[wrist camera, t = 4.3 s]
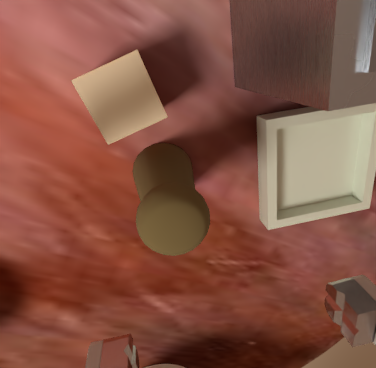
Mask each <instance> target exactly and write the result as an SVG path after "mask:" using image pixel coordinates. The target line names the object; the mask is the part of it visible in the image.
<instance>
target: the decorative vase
mask: <svg viewBox="0 0 376 368" xmlns="http://www.w3.org/2000/svg"><path fill="white" fill-rule="evenodd" d="M144 368H185V367H183V366H180V365H175V364H156V365H151V366H147V367H144Z"/></svg>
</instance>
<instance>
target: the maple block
mask: <svg viewBox="0 0 376 368" xmlns="http://www.w3.org/2000/svg"><path fill="white" fill-rule="evenodd" d="M71 81H72V83H73V85H74V87H75V88H76V90H77V92H78V93H79V95H80V97H81V99H82V100H83V102H84V104H85V106H86V107H87V109H88V111H89V112H90V114H91V116H92V118H93V119H94V121H95V123H96V125H97V126H98V128H99V130H100V131H101V133H102V135H103V137H104V138H105V140H106V142H107V144H108V145H109V144H111V143H113V142H115V141H117V140H120V139H122V138H124V137H126V136H128V135H130V134H133V133H135V132H137V131H139V130H141V129H143V128H146V127H148V126H150V125H152V124H154V123H156V122H158V121H161V120H163V119H165V118H167V115H166V112H165V110H164V108H163V106H162V103H161V101H160V99H159V97H158V95H157V92H156V90H155V88H154V86H153V83H152V81H151V79H150V77H149V75H148V72H147V70H146V68H145V66H144V64H143V61H142V59H141V57H140V55H139V52H138V50H135V51H133V52H131V53H129V54H127V55H124V56H122V57H120V58H118V59H116V60H114V61H112V62H110V63H107V64H105V65H103V66H101V67H99V68H97V69H95V70H93V71H91V72H88V73H86V74H84V75H82V76H80V77H78V78H76V79H74V80H71Z"/></svg>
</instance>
